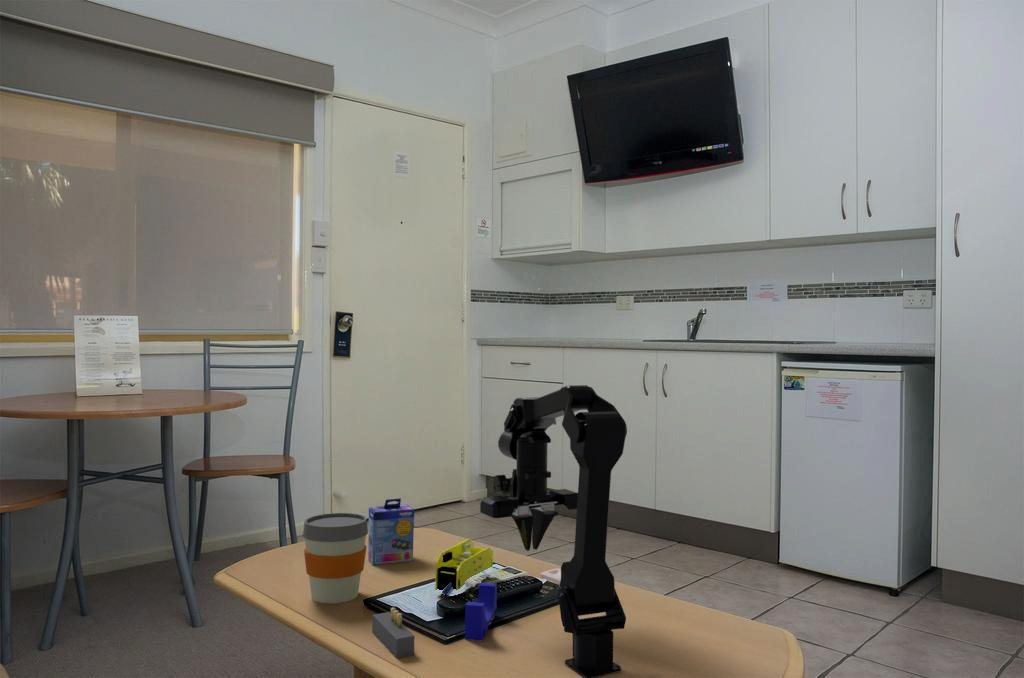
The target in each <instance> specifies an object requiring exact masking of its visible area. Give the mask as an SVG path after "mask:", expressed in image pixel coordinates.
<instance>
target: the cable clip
mask: <svg viewBox="0 0 1024 678" xmlns="http://www.w3.org/2000/svg"><path fill="white" fill-rule="evenodd" d="M497 585H498V584H497V583H489V582H481V583H479V584H478V597H477V599H478V603H477V602H471V601H467V602H466V603H465V605H464V607H465V608H464V609H465V611H464V640H469V641H481V642H482V641H484V639H485V637H486V635H487V633H488V631H489V630H488V626H489V622H490V620H491V618H492V617H493V615H494V611H496V610H497V601H498V599H497V597H498V593H497V590H498V589H497V588H498V586H497ZM496 612H497V611H496Z"/></svg>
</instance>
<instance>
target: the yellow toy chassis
mask: <svg viewBox="0 0 1024 678" xmlns="http://www.w3.org/2000/svg"><path fill="white" fill-rule="evenodd" d="M492 566H494V552H493V550H492V548H491V547H489V546H488V547H486V548H482V547H475V548H474V542H473V541H472V540H471V538H467V539H465V540H463V541H462V542H459V543H457V544H455V545H453V546H451V547H448V548H447V549H446V550H445V549H444V550H443V551H440V552H439V555H438V557H437V560H436V561H435V584H434V585H435V586H434V588H435V590H437V589H439V590H443V589H444V588H445V587H446V586H447V585H448V584H449V583H450V582H451V583H452V587H453V589H456V590H458V589H460V588H461V587H462V586H463V585H464V584H465V581H466V580H467V579H469V578H470V577H472V576H474V575H476V574H478V573H480V572H482V571H484V570H486V569H488V568H490V567H492Z"/></svg>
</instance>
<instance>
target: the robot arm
mask: <svg viewBox="0 0 1024 678" xmlns="http://www.w3.org/2000/svg"><path fill="white" fill-rule="evenodd" d="M582 410H583V411H582ZM585 410H586V411H585ZM578 411H580V412H578ZM576 412H577V413H576ZM575 413H576V414H575ZM561 417H563V419H562V421H561V426H562V428H563V429H564V430H565V432H566V435H567V436H568V438H569V444H570V445H569V447H570V452H571V453H572V455H573V457H574V458H575V461H576V462H577V464H578V466H579V467H578V468H579V472H578V487H577V492H575V491H573V490H571V489H566V488H560V489H551V490H549V492H548V479H549V478H552V471H549V470H548V444H549V443H551V442H552V439H551V438H550V436H549V435H548V434H547V432H546V431H547V429H548V428H549V427H551V426H553V425H554V424H555V423H556V418H557V419H558V418H561ZM503 427H504V429H503V431H502V433H501V434H500V436H499V438H498V441H497V445H498V446H497V447H498V449H499V451H500V453H501V454H502V455H503V456H505V457H508V458H510V459H513V460H515V461H516V468H513V469H512V472H511V473H512V474H511V475H512V476H511V477H509V478H508V477H506V476H507V475H506V474H497V475H494V476H493V481H492V487H493V492H494V493H495V494H502V495H491V496H483V498H482V500H481V502H480V504H479V505H480V506H479V507H480V508H479V512H480V513H481V514H483V515H486V516H488V517H490V518H492V519H501V518H503V519H505V518H509V517H510V518H511V519H512V520H513V521H514V523H515V525H516V527H517V530H518V532H519V535H520V538H521V541H522V542H521V543H522V544H523V547H524V550H525V551H527V552H529V551H530V550H531V545H532V549H533V550H538V548H539V547H540V544H541V542H542V540H543V538H544V536H545V535H546V532H547V530H548V528H549V527H550V525H551V523H552V521H553V520H554V517H557V516H558V515H559V512H558V511H556V510H555V506H561V505H562V506H564V507H565V509H566V510H569V511H570V510H576V520H575V534H574V535H575V536H574V553H573V556H572V558H571V559H570V560H569V561H563V562H562V564H561V567H560V569H561V581H560V585H559V587H560V589H559V590H558V594H557V596H558V605H559V611H560V618H561V619H560V620H561V624H562V627H563V631H564V632H565V633H568V634H572V658H567V659H565V660H564V664H565V665H566V666H567V667H569V668H570V669H572V670H573V671H575V672H576V673H577V674H579V675H581V676H582V677H584V678H598V677H601V676H605V675H610V674H613V673H618V672H621V671H622V667H621V665H619V664H617V663H616V662H614V631H615V630H624V629H625V625H626V621H627V616H626V614H625V611H624V608H623V606H622V603H621V601H620V598H619V596H618V593H617V590H616V587H615V586H616V583H615V577H614V574H613V573H612V571H611V570H610V567H609V566H608V564H607V562H606V558H607V557H606V555H607V540H608V536H607V535H608V526H609V511H610V510H609V508H610V494H611V480H612V471H613V470H614V467H615V466H616V465H617V463H618V462H619V460H620V459H621V457H622V456H623V454H624V447H625V441H626V437H627V435H628V427H627V423H626V421H625V419H624V417H623V416H622V415H621V413H620V412H619V410H618V409H617V407H615V405H613V404H612V403H611V402H609V401H607V400H606V399H605V398H603V397H601V396H599V395H598V394H597V393H596V391H595V389H594V388H593V387H592V386H589V385H586V384H585V385H578V384H577V385H564V386H562V387H561V388H560V389H558V390H555V391H553V392H550V393H547V394H545V395H542V396H540V397H537V396H536V397H535V396H534V397H516V398H515V399H514V401H513V403H512V404H511V406H510V409H509V411H508V414H507V416H506V418H505V420H504V422H503ZM511 498H515V499H511ZM600 613H601V614H602V613H605V615H598V616H592V617H584V618H579V616H588V615H595V614H600ZM613 630H614V631H613Z"/></svg>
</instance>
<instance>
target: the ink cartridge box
mask: <svg viewBox="0 0 1024 678" xmlns="http://www.w3.org/2000/svg"><path fill="white" fill-rule="evenodd" d="M401 500H402V498H398V497H397V498H389V499H385V500H384V501H385V503H384V505H381V506H379V505H378V506H372V507H371V506H370V507H368V538H367V539H368V542H367V545H368V546H367V547H368V548H367V551H368V552H367V559H368V561H369V562H370V563H371V566H376V565H378V566H379V565H387V564H394V563H406V562H412V561H414V536H415V535H414V530H415V526H414V525H415V509H414V507H412V506H411V505H410V504H401ZM391 502H395V503H391Z"/></svg>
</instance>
